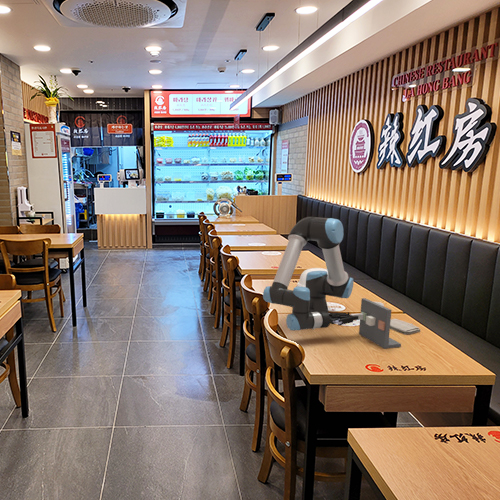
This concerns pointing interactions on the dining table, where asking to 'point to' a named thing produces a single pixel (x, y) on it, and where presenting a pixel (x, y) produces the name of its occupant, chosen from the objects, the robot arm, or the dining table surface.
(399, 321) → the washcloth
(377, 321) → the button panel
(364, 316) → the sage button
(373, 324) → the ivory button
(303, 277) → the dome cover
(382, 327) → the terracotta button
